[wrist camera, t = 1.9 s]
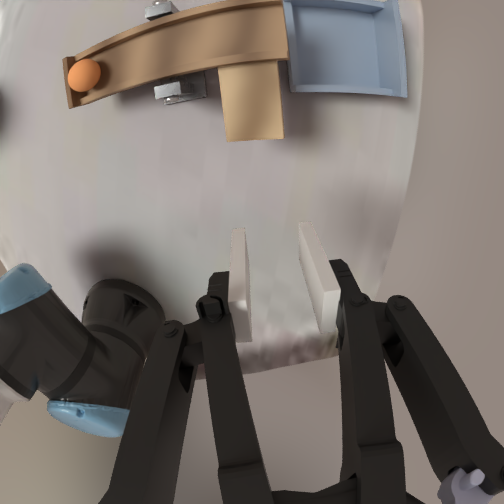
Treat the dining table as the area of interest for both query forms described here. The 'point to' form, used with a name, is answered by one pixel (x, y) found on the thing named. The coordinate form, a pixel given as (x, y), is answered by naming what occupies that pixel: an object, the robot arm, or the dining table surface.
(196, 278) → the dining table surface
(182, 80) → the stand
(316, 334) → the dining table surface
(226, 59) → the lever
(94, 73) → the ball
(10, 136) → the dining table surface
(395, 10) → the tray
